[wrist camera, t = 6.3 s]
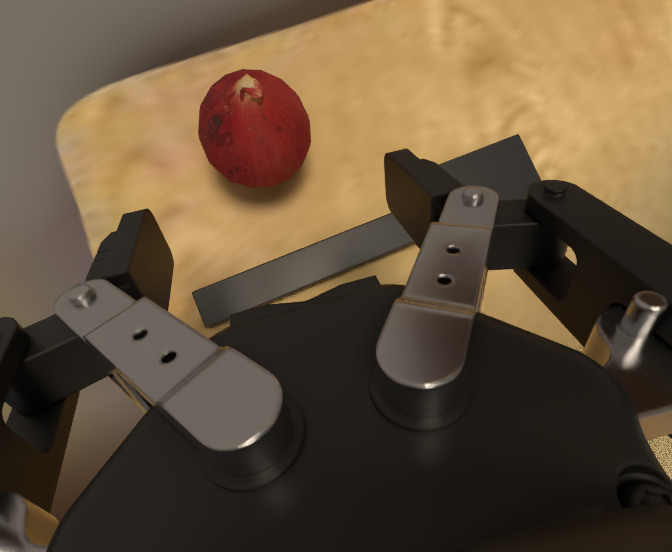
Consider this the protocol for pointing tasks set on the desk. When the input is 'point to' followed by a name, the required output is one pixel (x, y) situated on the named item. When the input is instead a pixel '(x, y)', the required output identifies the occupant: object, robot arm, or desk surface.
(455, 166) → the spatula
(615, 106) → the desk surface
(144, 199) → the desk surface
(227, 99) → the onion
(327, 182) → the desk surface
